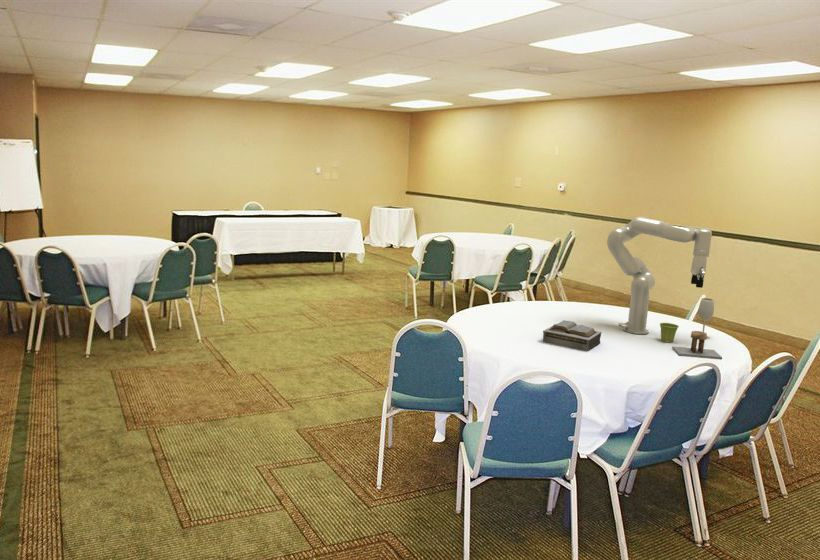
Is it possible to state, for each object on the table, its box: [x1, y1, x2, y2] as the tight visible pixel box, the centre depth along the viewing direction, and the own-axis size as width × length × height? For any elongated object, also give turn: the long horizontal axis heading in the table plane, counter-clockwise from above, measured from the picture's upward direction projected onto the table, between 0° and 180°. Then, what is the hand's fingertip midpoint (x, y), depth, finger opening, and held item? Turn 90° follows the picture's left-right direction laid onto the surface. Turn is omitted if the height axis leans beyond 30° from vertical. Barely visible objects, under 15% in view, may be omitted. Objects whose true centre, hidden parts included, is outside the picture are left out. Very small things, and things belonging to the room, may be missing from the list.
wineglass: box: [697, 297, 715, 340], centre depth 355 cm, size 8×8×21 cm
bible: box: [542, 319, 603, 352], centre depth 332 cm, size 23×27×10 cm
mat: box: [671, 345, 723, 360], centre depth 324 cm, size 20×13×1 cm, turn 82°
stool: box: [690, 330, 708, 353], centre depth 323 cm, size 7×7×10 cm
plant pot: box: [659, 322, 680, 343], centre depth 345 cm, size 9×9×9 cm
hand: (696, 285), depth 341 cm, fingers open, 9 cm apart
